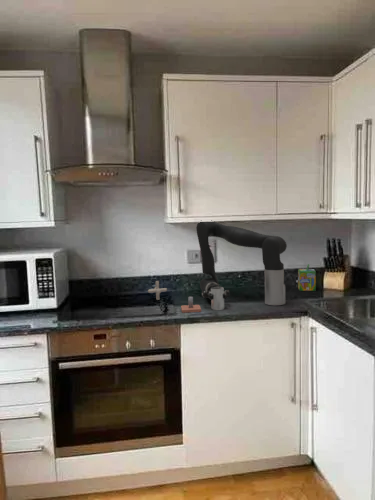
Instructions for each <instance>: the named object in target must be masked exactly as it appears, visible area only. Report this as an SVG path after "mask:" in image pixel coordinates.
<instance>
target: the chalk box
mask: <svg viewBox="0 0 375 500" xmlns="http://www.w3.org/2000/svg"><path fill="white" fill-rule="evenodd" d="M297 271H298V272H297V288H298V291H300V292H301V291H302V292H304V291H305V292H316V291H317V288H316V287H317V285H316V284H317V281H316V279H317V272H316V269H314V268H310V263H309V264H307V266H306V268H298V270H297Z"/></svg>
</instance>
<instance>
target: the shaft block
mask: <svg viewBox="0 0 375 500" xmlns="http://www.w3.org/2000/svg"><path fill="white" fill-rule="evenodd" d="M187 299H188V300H187V301H188V302H187V304H188V305H184V304H183V305H181V306H180V309H181V313H182V314H183V313H201V312H202V308H201V306H200V304H194V296H188V297H187Z"/></svg>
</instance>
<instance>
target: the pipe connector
mask: <svg viewBox="0 0 375 500" xmlns="http://www.w3.org/2000/svg"><path fill="white" fill-rule="evenodd" d="M167 291H168V288H167V287H164V288H163V287H162V288H160V280H156V281H155V286H154V288H151V289H150V288H149V289H147V292H148V293H149V294H152V293H155V297H156V300H157V301H158V300H159V301H160V294H161V293H162V292H167Z"/></svg>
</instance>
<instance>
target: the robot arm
mask: <svg viewBox="0 0 375 500" xmlns="http://www.w3.org/2000/svg"><path fill="white" fill-rule="evenodd" d="M196 235H197V239H198V244H199V249H200V255H201V267H202V269H201V270H202V273H203V275H208V276H210V277H209V278H206V277H205V278H202V279H201V280H200V281H199V287H200V289H201V297H203V298H204V299H209V300H212V295H211V288H212V287H221V286H220V284H219V281H218V277H217V273H216V268H215V257H214V253H213V252H212V249H211V247H210V243H209V238H210V237H214V238H221V239H224V240H225V241H227V243H229V244H232V245H235V246H237V247H238V246H239V247H243V248H253V249H254V248H257V249H261V251H262V252H261V253H262V263H263V266H264V303H265V305H269V306H281V305H286V284H285V276H284V275H285V272H284V271H285V269H284V267H285V266H284V265H285V264H284V263H283V262H282V261H281V255H282V254H283V253H284V252H286V250H287V241H286V240H285V239H284V238H282V237H280V236H275V235H267V234H262V233H259V232H255V231H253V230H250V229H246V228H242V227H239V226H234V225H233V226H232V225H225V224H222V223H219V222H217V221H214V222H200V223H197V224H196ZM228 298H230V290H229V289H226V290H224V300H227V299H228Z"/></svg>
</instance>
